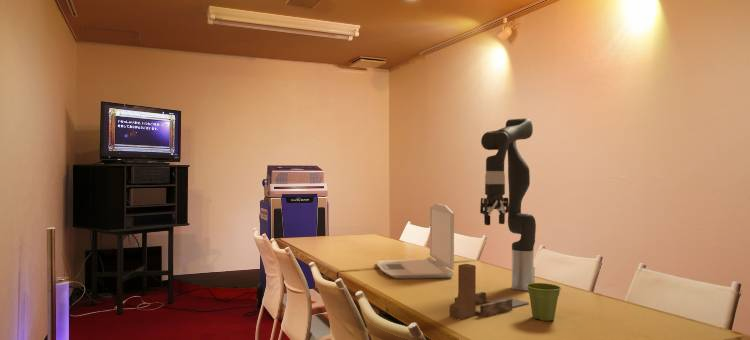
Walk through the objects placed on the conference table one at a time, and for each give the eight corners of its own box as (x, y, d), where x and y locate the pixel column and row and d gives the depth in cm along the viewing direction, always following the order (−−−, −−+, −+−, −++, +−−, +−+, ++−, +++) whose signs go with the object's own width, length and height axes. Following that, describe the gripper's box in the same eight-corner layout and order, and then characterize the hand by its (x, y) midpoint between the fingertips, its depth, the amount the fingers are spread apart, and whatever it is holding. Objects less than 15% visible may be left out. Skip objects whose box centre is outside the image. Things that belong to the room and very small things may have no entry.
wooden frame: (483, 302, 196) (483, 291, 196) (512, 309, 184) (512, 299, 184) (454, 308, 186) (454, 297, 186) (483, 317, 175) (483, 305, 175)
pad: (505, 298, 202) (505, 296, 202) (528, 304, 193) (528, 302, 193) (489, 302, 196) (489, 300, 196) (512, 308, 187) (512, 306, 187)
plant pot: (568, 321, 170) (569, 288, 170) (539, 324, 167) (539, 290, 167) (547, 312, 181) (547, 281, 182) (519, 314, 178) (519, 283, 178)
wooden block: (458, 320, 171) (458, 268, 171) (449, 317, 174) (449, 266, 175) (475, 316, 176) (476, 265, 176) (466, 313, 180) (466, 263, 180)
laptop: (373, 265, 274) (374, 202, 275) (432, 264, 279) (432, 202, 279) (385, 281, 233) (386, 207, 234) (453, 279, 238) (454, 207, 238)
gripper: (498, 182, 201) (498, 222, 201) (475, 182, 192) (474, 224, 192) (514, 183, 195) (514, 224, 195) (490, 183, 187) (490, 226, 186)
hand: (494, 224), depth 194 cm, fingers open, 8 cm apart
